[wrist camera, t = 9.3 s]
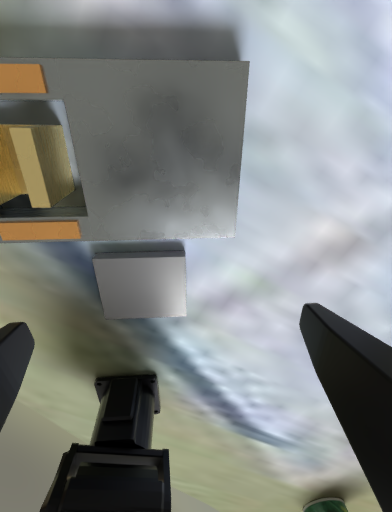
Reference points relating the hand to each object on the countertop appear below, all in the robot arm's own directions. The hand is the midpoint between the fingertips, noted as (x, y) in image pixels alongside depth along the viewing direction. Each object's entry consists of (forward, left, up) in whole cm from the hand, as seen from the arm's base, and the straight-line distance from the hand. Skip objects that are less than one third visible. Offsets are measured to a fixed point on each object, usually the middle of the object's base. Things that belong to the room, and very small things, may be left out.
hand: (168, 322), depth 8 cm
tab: (-7, +3, -12) cm, 14 cm away
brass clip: (+3, +9, -12) cm, 15 cm away
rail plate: (+3, +4, -12) cm, 13 cm away
